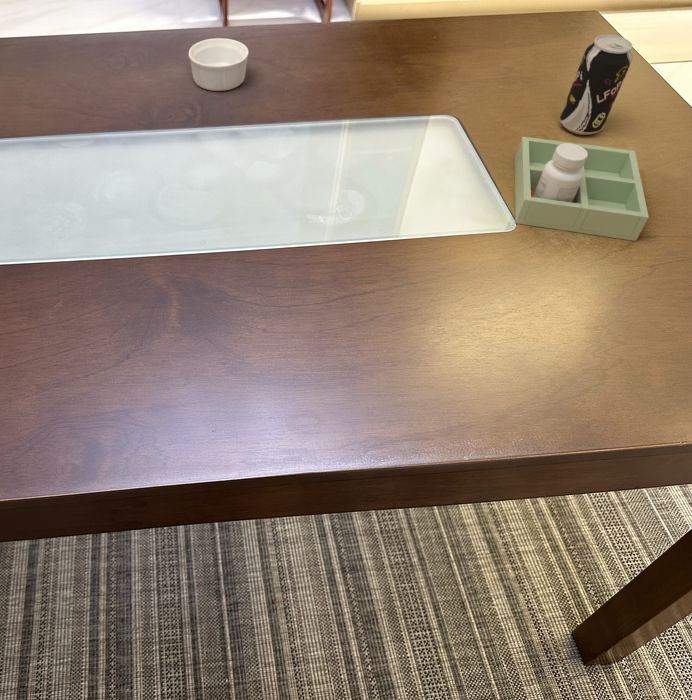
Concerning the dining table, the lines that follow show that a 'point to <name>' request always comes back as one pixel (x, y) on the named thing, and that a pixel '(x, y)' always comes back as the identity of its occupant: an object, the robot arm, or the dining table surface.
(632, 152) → the grid
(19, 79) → the dining table surface
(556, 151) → the pill bottle
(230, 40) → the ramekin
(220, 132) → the dining table surface
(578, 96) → the beverage can
